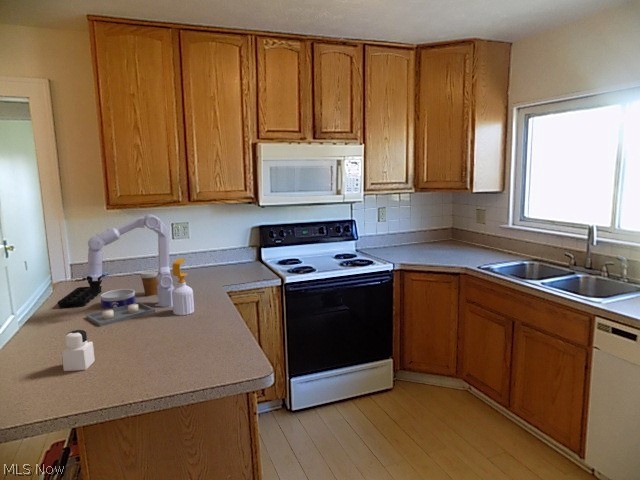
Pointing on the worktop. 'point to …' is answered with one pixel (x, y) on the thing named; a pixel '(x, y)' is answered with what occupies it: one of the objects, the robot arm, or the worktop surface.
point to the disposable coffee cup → (150, 282)
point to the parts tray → (119, 314)
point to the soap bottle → (181, 293)
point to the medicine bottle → (77, 351)
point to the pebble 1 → (108, 314)
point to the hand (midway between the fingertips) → (94, 293)
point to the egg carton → (77, 298)
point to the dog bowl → (117, 298)
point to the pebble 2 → (133, 308)
